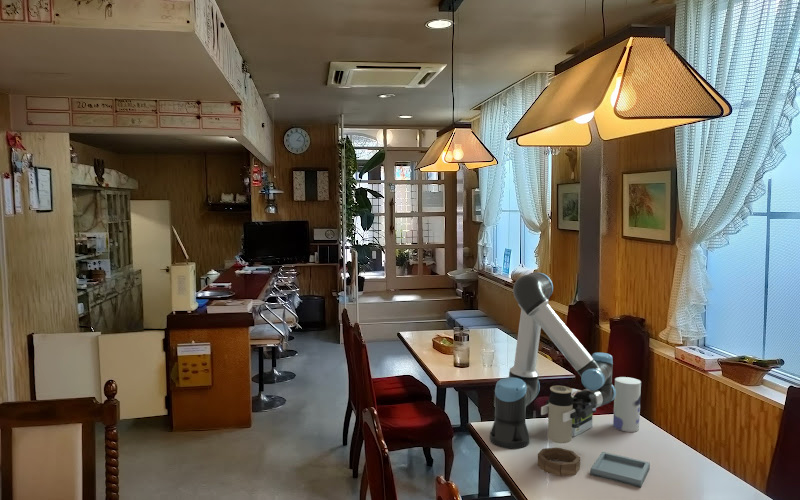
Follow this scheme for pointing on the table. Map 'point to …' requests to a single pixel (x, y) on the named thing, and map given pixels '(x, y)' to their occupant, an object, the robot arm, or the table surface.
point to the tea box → (580, 420)
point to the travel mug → (559, 414)
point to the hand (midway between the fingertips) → (552, 414)
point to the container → (627, 404)
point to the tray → (620, 469)
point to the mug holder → (556, 467)
